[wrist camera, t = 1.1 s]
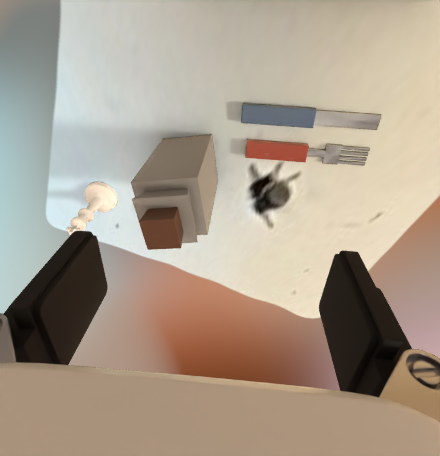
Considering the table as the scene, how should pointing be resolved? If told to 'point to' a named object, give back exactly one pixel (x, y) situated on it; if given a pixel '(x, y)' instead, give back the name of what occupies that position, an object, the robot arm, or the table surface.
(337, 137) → the table surface
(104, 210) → the chess piece
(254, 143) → the fork
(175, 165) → the perfume bottle
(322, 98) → the table surface
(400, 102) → the table surface
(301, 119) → the knife
